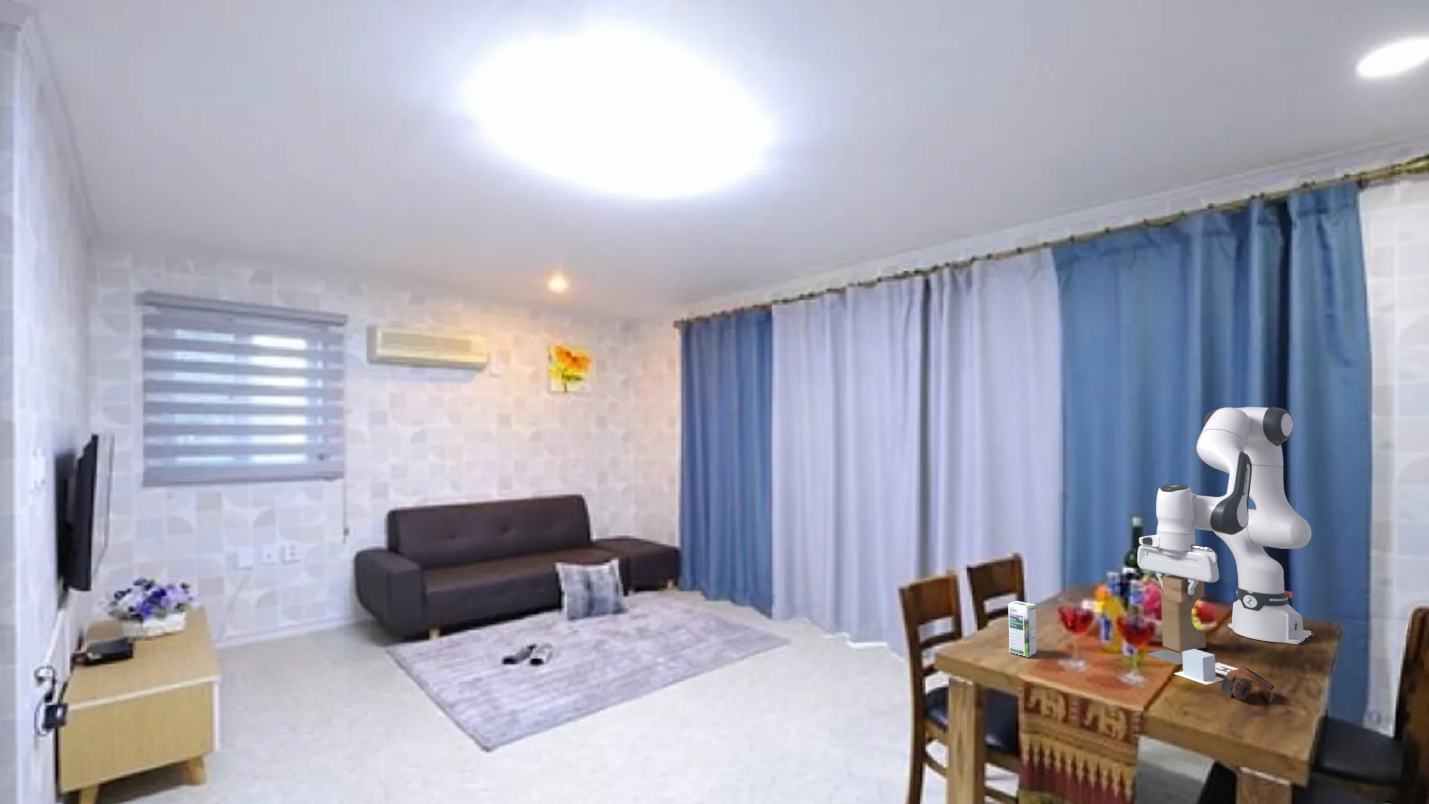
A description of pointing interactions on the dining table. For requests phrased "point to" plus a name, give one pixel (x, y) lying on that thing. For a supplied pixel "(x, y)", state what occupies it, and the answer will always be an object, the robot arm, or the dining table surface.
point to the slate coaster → (1168, 656)
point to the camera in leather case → (1244, 684)
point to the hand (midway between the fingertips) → (1177, 591)
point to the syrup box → (1022, 628)
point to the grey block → (1199, 664)
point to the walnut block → (1175, 588)
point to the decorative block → (1181, 623)
